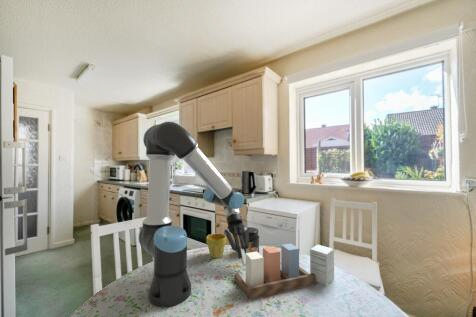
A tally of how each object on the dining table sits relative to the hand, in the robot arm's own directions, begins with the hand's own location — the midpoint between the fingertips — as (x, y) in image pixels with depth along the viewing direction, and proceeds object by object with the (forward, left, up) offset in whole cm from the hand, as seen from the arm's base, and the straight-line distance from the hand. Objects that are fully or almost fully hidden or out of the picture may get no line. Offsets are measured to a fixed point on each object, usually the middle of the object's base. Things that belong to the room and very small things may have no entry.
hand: (245, 265), depth 94 cm
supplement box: (+29, -14, -4) cm, 32 cm away
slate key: (+18, -7, -4) cm, 20 cm away
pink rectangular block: (+9, -7, -4) cm, 12 cm away
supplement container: (+11, +21, -4) cm, 24 cm away
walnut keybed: (+9, -9, -4) cm, 13 cm away
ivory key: (0, -10, -4) cm, 10 cm away
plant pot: (-7, +23, -4) cm, 24 cm away
